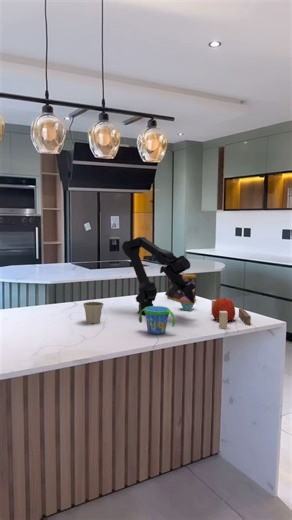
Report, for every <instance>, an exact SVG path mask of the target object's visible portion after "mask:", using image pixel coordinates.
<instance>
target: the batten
mask: <svg viewBox="0 0 292 520" xmlns="http://www.w3.org/2000/svg"><path fill="white" fill-rule="evenodd" d="M251 317H252V316H251V315H250V314H249V313H248V312H247V311H246V310H245V309H244V308H238V318H239V319H240V320H241V321H242V322H243V323H244V325H246V326H251V321H252V320H251V319H252V318H251Z"/></svg>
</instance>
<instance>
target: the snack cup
mask: <svg viewBox="0 0 292 520" xmlns="http://www.w3.org/2000/svg"><path fill="white" fill-rule="evenodd" d="M143 311H144V312H145V315H144V316H145V322H146V328H147V332H148V333H149V334H152V335H162V334H165V333H166V331H167V325H168V319H169V316H170V317H171V318H172V325H171V327H172V328H173V327H175V324H176V317H175V315H174V313H173V311H171V310H170V308H169V307H167V306H163V305H153V306H149V307H146V308H145V309H143V310H142V311H141V312H140V314H139V313H138V322H139V323H142V322H143V317H142V316H143V315H142V312H143Z"/></svg>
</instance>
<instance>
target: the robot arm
mask: <svg viewBox="0 0 292 520" xmlns="http://www.w3.org/2000/svg"><path fill="white" fill-rule="evenodd" d="M121 248H122V251H123V253H124V255H126V257H128V258H129V259H130V263H131V265H132V267H133V270H134V273H135V276H136V278H137V281H138V283H139V286H138V294H137V296H136V297H135V301H136V303H138V311H137V314H138V315H139V314H140V312H141V311H142V310H143V309H145V308H146V307H149V306H154V303H153V302H155V301H156V297H157V294H158V292H157V291H158V288H157V286H156V284H155V281H153V282H152V281H150V280H149V277H148V276H147V272H146V269H145V267H144V265H143V262H142V260H141V257H140V256H141V255H140V252H141V248H142V249H143V250H145V251H147V252H148V253H149V254H151V255H153V257H154V259H155V260H156V261H157V262H158V263H159V264H160V265H161V267H160V268H159V273H160V274H162V273H164V274H165V276H166V277H167V279H168V278H169V280H170V284H171V285H170V287H169V288H168V287H167V290H166V292H165V293H164V295H165V296H166V297H167V296H168V297H169V298H173V297H174V295H175V293H177V291H178V292H179V294H178V295H183V296H185V297H186V298H187V299H188V300H189V301H191V302H192V303H194V302H195V303H196V300H195V301H194V296H193V291H192V290H193V289H194V288H195V287H197V286H195V285H194V284H193V283H188V282H187V281H185V280H184V278H183V277H182V276H183V275H182V274H180V273H182V272H185V271H187V270H189V269H191V263H190V261H189V260H188V258H186V257H185V255H180V256H178V257H177V256H175V254H174V253H173V252H172V251H170V250H168V249H162V248H161V247H159V246H158V245H156V244H155V243H153V242H151V241H150V240H149V239H147V238H146V237H144V236H139V237H136V238H134V239H130V240H126V241H123V243H122V246H121ZM164 265H165V266H164ZM187 283H188V284H187ZM169 298H168V299H169ZM195 303H194V304H195ZM141 316H146V315H145V312H144V311H143V312H142V315H141Z"/></svg>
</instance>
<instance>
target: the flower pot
mask: <svg viewBox="0 0 292 520" xmlns="http://www.w3.org/2000/svg"><path fill="white" fill-rule="evenodd" d="M82 306H83V308H84V313H85V314H84V315H85V321H86V323H87V324H91V325H92V324H99V323H100V322H101V319H102V318H101V316H102V309H103V307H104V303H103V302H100V301H88V302H83V304H82Z"/></svg>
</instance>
